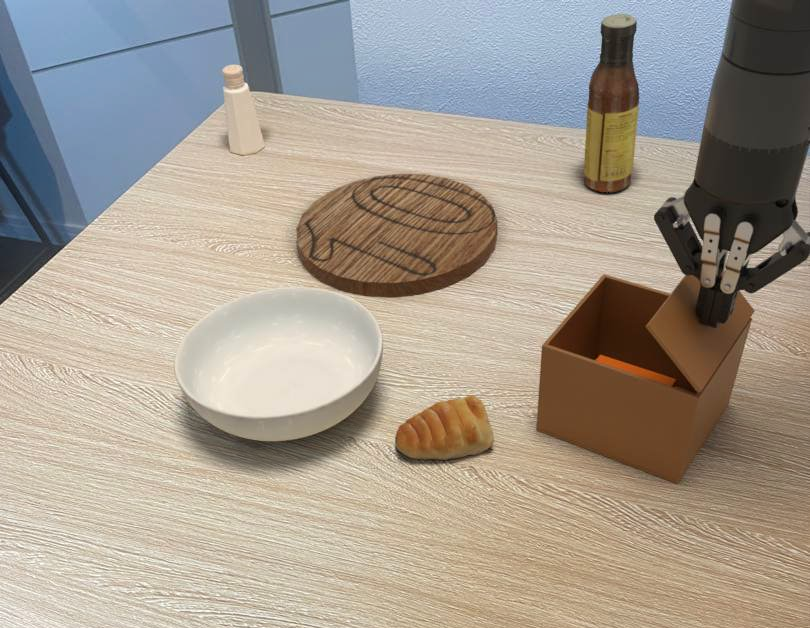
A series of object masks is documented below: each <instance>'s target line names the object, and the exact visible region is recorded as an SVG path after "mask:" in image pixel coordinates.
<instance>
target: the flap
mask: <svg viewBox="0 0 810 628" xmlns="http://www.w3.org/2000/svg"><path fill="white" fill-rule="evenodd" d="M724 272H725V270H724ZM724 272H723V274H722V277H723V275H724ZM699 291H700V281H699V280H698V279H697V278H696V277H695V276H693V275H685V274H684V276H683V278H682V279H681V280H680V281H679V282H678V284H677V285H676V286H675V288H674V289H673V290H672V292H671V293H669V294H670V296H669V297H668V298H667V299H666V301H665V302H664V303H663V305H662V306H661V307H660V308H659V310H658V311H657V312H656V314H655V315H654V316H653V318H652V319H651V320H650V321H649V323H648V324H647V325H646V328H647V329H648V330H649V332H650V333H651V334H652V335H653V337H654V338H655V339H656V341H657V342H658V343H659V344H660V346H661V347H662V348H663V349H664V351H665V352H666V353H667V354H668V356H669V357H670V358H671V359H672V361H673V362H674V363H675V365H676V366H677V367H678V368H679V370H680V371H681V372H682V373H683V375H684V376H685V377H686V378H687V380H688V381H689V382H690V383H691V385H692V386H693V387H694V389H695V390H696V391H697V392H701V391H702V389H703V388H704V386H705V385H706V383H707V382H708V380H709V379H710V377H711V376H712V374H713V373H714V371H715V370H716V368H717V367H718V365H719V364H720V362H721V361H722V359H723V358H724V356H725V355H726V354H727V352H728V351H729V349H730V348H731V346H732V345H733V343H734V342H735V340H736V339H737V337H738V336H739V334H740V333H741V331H742V330H743V328H744V327H745V325H746V324H747V322H748V321H749V319H750V318H752V317H753V315H754V313H755V309H754V308H753V307H752V305H751V304H750V302H748V300H747V299H746V297H745V296H744V295H743V293H742V292H741V290H739V292H738V295H737V299H736V303H735V307H734V311H733V312H732V314H731V315H730V317H729V318H728V320H727V321H726V322H725V323H724V324H722V323H720V324H719V326H718V327H717V328H713V327H710V326H707V325H703V324H700V319H701V317H699V316H696V311H695V309H696V305H697V300H698V295H699Z"/></svg>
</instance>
